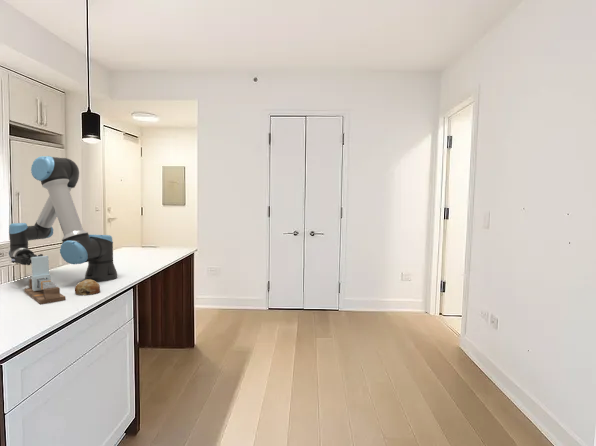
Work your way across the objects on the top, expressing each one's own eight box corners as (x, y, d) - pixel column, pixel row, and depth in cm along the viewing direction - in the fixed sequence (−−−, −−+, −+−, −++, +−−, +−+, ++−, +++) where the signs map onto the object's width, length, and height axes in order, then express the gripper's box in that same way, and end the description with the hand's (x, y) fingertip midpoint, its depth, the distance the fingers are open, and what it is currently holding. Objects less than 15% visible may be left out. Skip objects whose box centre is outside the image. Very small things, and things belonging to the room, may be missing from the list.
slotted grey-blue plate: (32, 289, 173) (30, 257, 172) (49, 287, 177) (47, 255, 176) (33, 291, 171) (32, 258, 170) (50, 288, 175) (49, 256, 174)
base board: (24, 291, 178) (23, 279, 178) (47, 288, 185) (46, 276, 184) (40, 304, 159) (39, 291, 158) (65, 300, 165) (65, 287, 165)
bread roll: (75, 303, 173) (74, 289, 169) (75, 289, 181) (74, 275, 177) (100, 301, 177) (100, 286, 174) (99, 287, 185) (99, 273, 182)
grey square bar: (32, 283, 179) (31, 275, 179) (40, 281, 181) (40, 274, 181) (47, 293, 162) (46, 285, 161) (56, 291, 164) (56, 283, 164)
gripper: (39, 262, 198) (52, 268, 182) (8, 265, 189) (18, 272, 173) (39, 247, 198) (52, 252, 181) (7, 250, 189) (17, 255, 172)
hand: (35, 262), depth 177 cm, fingers closed
